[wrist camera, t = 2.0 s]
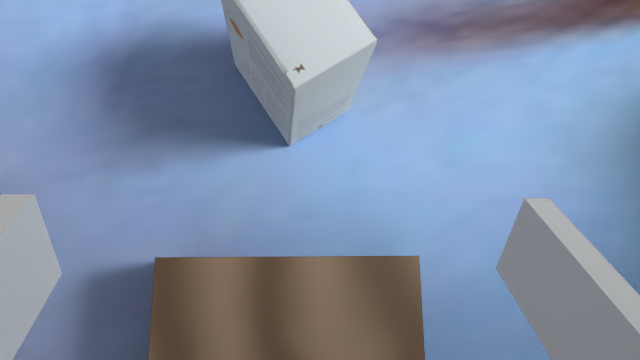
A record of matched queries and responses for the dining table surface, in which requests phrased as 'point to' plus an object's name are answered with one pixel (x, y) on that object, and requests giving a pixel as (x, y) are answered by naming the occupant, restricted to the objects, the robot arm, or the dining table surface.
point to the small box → (299, 58)
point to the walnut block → (287, 308)
